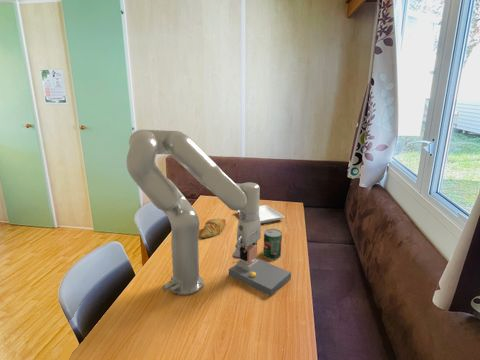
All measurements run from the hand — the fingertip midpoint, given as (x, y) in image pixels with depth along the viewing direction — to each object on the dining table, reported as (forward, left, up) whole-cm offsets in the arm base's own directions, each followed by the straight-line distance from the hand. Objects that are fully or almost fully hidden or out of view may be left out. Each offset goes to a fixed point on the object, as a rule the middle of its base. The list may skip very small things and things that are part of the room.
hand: (247, 256), depth 124 cm
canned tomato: (+18, 0, -7) cm, 19 cm away
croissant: (+18, +37, -7) cm, 42 cm away
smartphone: (+13, +12, -8) cm, 19 cm away
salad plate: (+49, +29, -8) cm, 57 cm away
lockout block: (0, 0, 0) cm, 0 cm away
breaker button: (0, 0, -4) cm, 4 cm away
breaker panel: (0, -6, -7) cm, 9 cm away
